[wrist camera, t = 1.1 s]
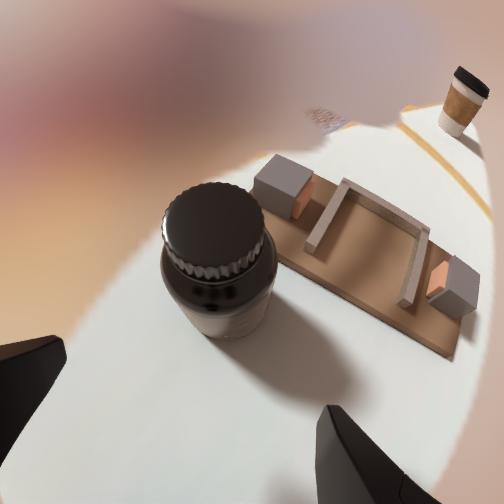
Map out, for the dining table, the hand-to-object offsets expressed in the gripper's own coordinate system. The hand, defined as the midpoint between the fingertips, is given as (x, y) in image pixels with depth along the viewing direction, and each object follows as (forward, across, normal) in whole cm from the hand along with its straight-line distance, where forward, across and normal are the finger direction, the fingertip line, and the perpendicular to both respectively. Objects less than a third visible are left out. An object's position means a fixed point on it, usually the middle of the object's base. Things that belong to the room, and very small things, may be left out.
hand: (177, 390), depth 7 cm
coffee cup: (+44, -37, -28) cm, 64 cm away
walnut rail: (+20, -12, -2) cm, 23 cm away
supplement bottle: (+15, +1, +4) cm, 16 cm away
